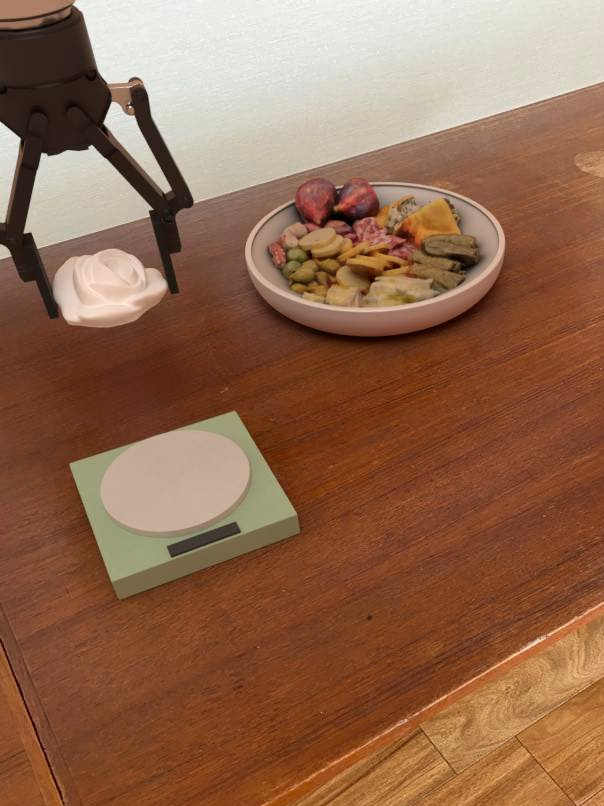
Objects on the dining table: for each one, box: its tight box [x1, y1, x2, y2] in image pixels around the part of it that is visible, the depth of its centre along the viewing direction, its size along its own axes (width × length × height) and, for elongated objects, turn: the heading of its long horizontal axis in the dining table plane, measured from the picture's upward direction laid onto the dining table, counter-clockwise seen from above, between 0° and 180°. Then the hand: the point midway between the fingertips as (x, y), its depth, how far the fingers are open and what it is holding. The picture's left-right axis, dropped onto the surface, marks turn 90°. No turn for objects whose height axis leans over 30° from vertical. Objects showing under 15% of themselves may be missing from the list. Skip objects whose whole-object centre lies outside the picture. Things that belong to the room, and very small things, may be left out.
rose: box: [51, 248, 169, 328], centre depth 75 cm, size 10×4×10 cm
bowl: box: [244, 177, 506, 337], centre depth 101 cm, size 30×30×8 cm
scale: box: [68, 410, 301, 601], centre depth 77 cm, size 16×16×3 cm
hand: (113, 298), depth 76 cm, fingers closed on rose, 10 cm apart
